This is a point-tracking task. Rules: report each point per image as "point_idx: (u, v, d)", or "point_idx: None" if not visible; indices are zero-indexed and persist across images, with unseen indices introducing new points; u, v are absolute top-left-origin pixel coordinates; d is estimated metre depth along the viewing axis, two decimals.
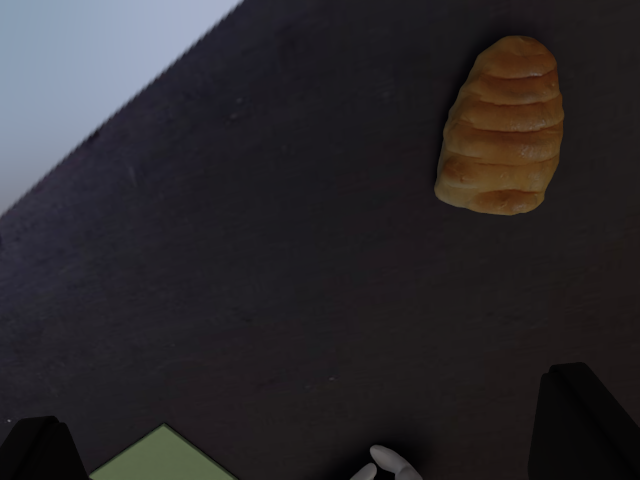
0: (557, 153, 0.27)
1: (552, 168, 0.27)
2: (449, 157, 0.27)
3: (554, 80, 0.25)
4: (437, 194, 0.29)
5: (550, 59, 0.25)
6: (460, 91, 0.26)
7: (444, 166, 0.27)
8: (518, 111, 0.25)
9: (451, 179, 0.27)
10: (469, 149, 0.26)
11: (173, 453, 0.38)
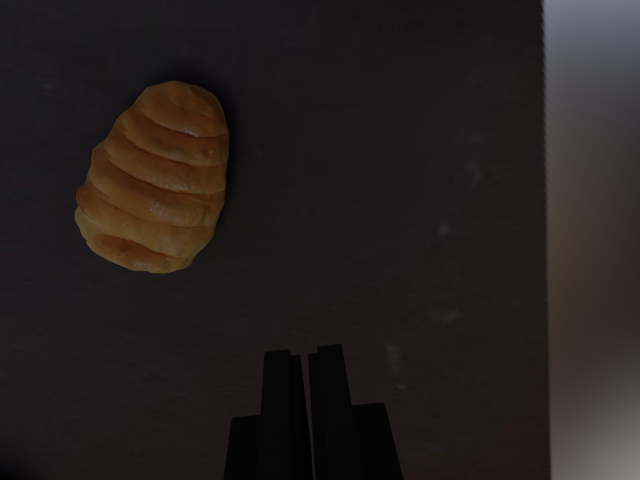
0: (207, 225, 0.25)
1: (192, 238, 0.24)
2: (86, 183, 0.24)
3: (213, 148, 0.23)
4: (75, 217, 0.25)
5: (214, 124, 0.23)
6: None
7: (78, 189, 0.24)
8: (158, 162, 0.22)
9: (78, 207, 0.24)
10: (96, 182, 0.23)
11: None
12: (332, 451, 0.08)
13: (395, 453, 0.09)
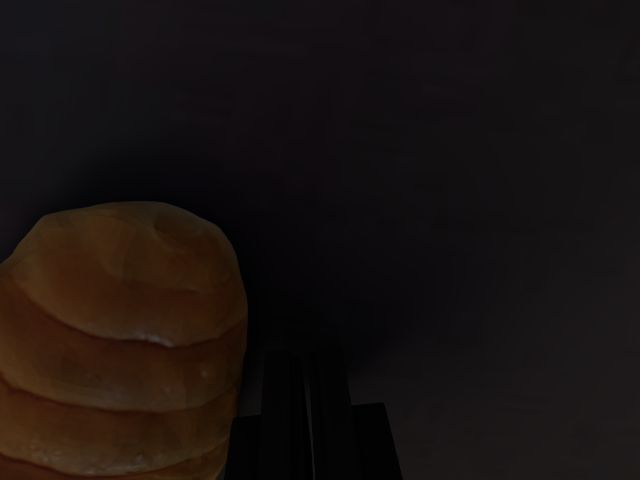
0: None
1: None
2: None
3: (213, 363, 0.09)
4: None
5: (215, 311, 0.09)
6: None
7: None
8: (66, 418, 0.09)
9: None
10: None
11: None
12: (332, 451, 0.08)
13: (395, 453, 0.09)
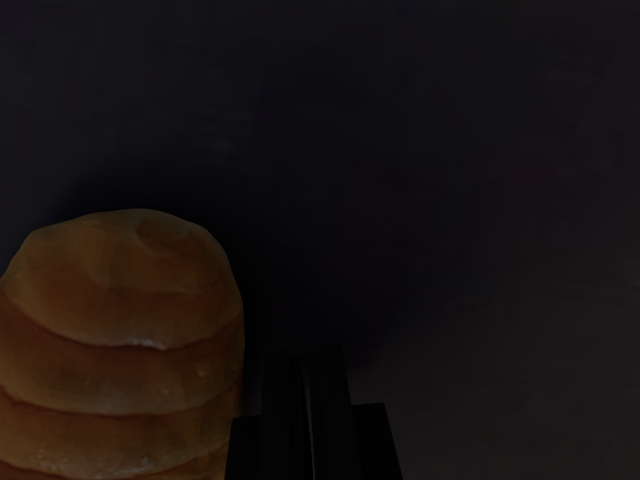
0: None
1: None
2: None
3: (209, 362, 0.09)
4: None
5: (205, 311, 0.09)
6: None
7: None
8: (69, 427, 0.09)
9: None
10: None
11: None
12: (332, 451, 0.08)
13: (395, 453, 0.09)
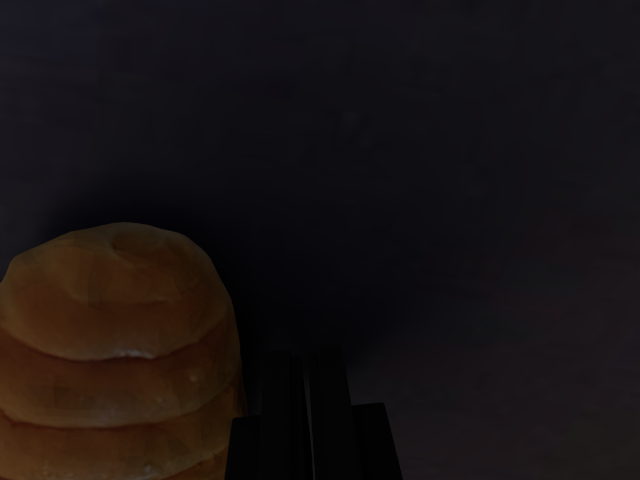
0: None
1: None
2: None
3: (199, 367, 0.10)
4: None
5: (188, 317, 0.09)
6: None
7: None
8: (69, 443, 0.09)
9: None
10: None
11: None
12: (332, 451, 0.08)
13: (395, 453, 0.09)
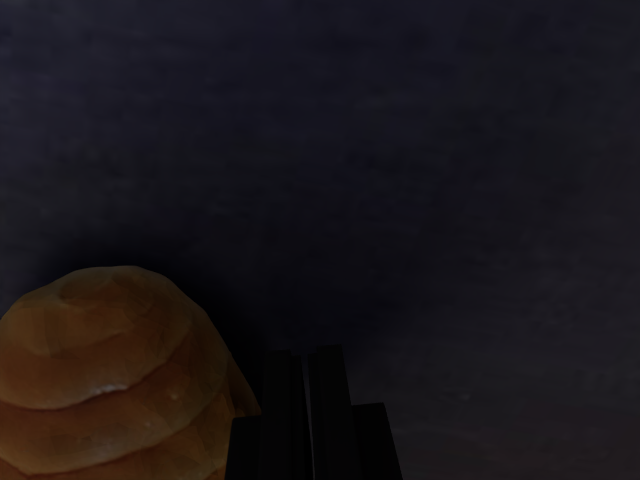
0: None
1: None
2: None
3: (177, 384, 0.10)
4: None
5: (148, 341, 0.10)
6: None
7: None
8: None
9: None
10: None
11: None
12: (331, 451, 0.08)
13: (395, 453, 0.09)
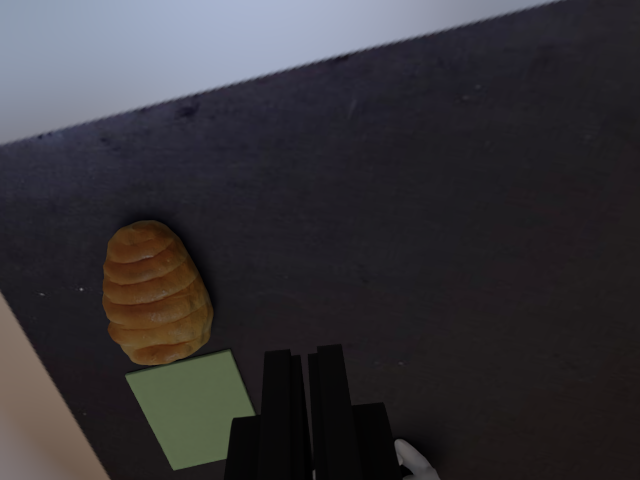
0: (200, 307, 0.32)
1: (194, 321, 0.32)
2: None
3: (169, 257, 0.31)
4: (121, 345, 0.34)
5: (159, 242, 0.30)
6: None
7: None
8: (138, 287, 0.30)
9: (114, 339, 0.32)
10: (111, 320, 0.31)
11: (221, 381, 0.37)
12: (332, 451, 0.08)
13: (395, 453, 0.09)
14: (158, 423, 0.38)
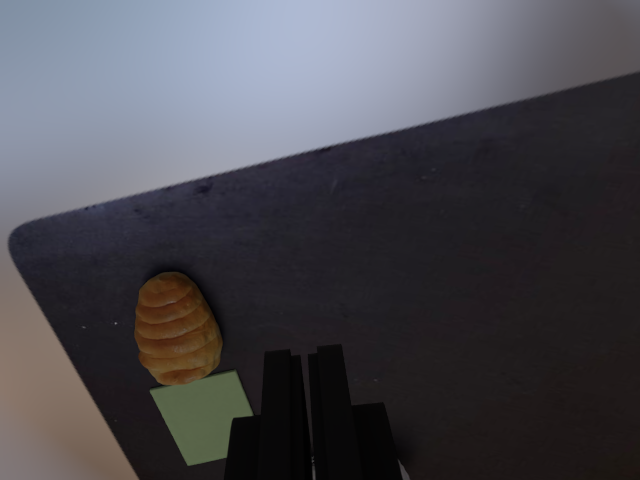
0: (212, 339, 0.40)
1: (207, 351, 0.40)
2: None
3: (188, 301, 0.39)
4: None
5: (181, 290, 0.38)
6: None
7: (139, 356, 0.41)
8: (164, 326, 0.38)
9: (143, 365, 0.40)
10: (142, 350, 0.39)
11: (228, 395, 0.45)
12: (332, 451, 0.08)
13: (395, 453, 0.09)
14: (176, 428, 0.47)
